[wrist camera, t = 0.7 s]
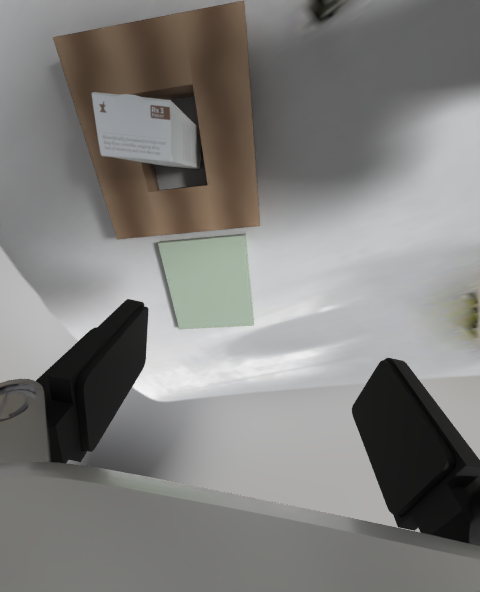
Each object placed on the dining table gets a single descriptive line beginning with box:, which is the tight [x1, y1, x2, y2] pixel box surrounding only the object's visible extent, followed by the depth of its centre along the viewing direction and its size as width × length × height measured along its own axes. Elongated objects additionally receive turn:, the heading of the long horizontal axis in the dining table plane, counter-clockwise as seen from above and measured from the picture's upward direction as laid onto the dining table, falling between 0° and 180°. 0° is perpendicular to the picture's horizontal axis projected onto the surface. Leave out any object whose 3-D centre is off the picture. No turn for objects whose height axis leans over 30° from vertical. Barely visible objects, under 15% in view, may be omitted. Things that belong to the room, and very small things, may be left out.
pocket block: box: [53, 1, 260, 239], centre depth 28 cm, size 18×19×4 cm
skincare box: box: [92, 92, 201, 169], centre depth 24 cm, size 6×4×12 cm
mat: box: [158, 234, 254, 329], centre depth 37 cm, size 12×14×1 cm
